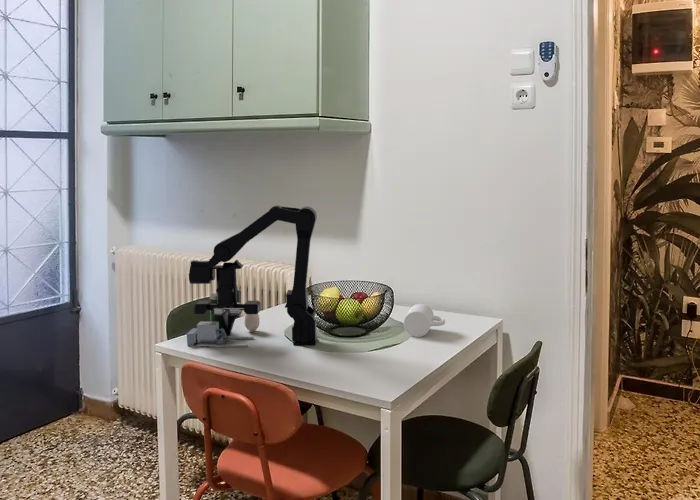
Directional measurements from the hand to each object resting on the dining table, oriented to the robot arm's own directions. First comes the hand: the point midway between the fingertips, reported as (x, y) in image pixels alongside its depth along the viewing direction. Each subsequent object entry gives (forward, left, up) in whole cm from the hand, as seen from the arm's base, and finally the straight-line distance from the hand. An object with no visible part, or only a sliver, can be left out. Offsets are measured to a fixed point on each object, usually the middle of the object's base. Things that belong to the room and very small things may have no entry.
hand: (228, 335), depth 190 cm
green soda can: (+5, -11, -2) cm, 13 cm away
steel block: (+6, 0, -2) cm, 6 cm away
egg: (-5, -12, -2) cm, 13 cm away
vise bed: (+3, 0, -2) cm, 4 cm away
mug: (-58, -11, -2) cm, 59 cm away
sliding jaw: (+2, +2, -2) cm, 3 cm away
